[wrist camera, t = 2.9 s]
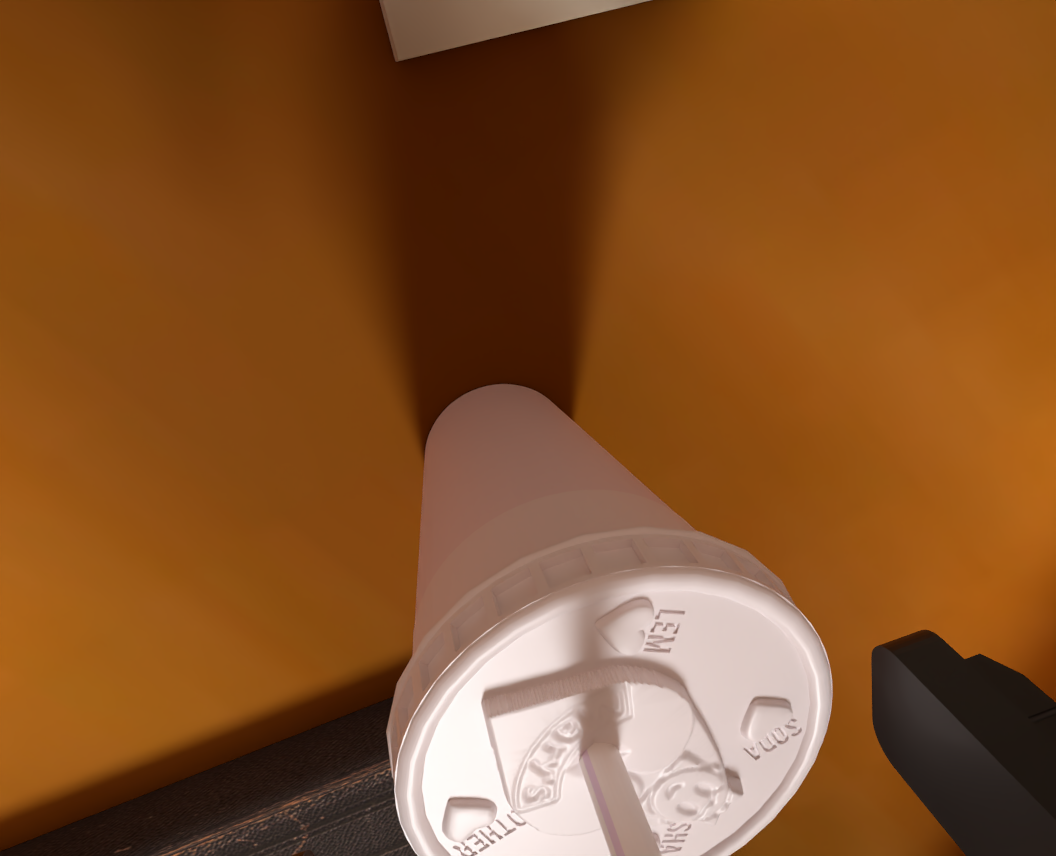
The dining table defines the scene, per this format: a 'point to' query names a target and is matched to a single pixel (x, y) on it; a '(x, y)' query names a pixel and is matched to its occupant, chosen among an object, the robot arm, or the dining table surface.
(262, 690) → the dining table surface
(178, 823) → the hardcover book
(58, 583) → the dining table surface
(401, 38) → the green glass shallow box
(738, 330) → the dining table surface
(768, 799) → the smoothie
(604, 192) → the dining table surface
